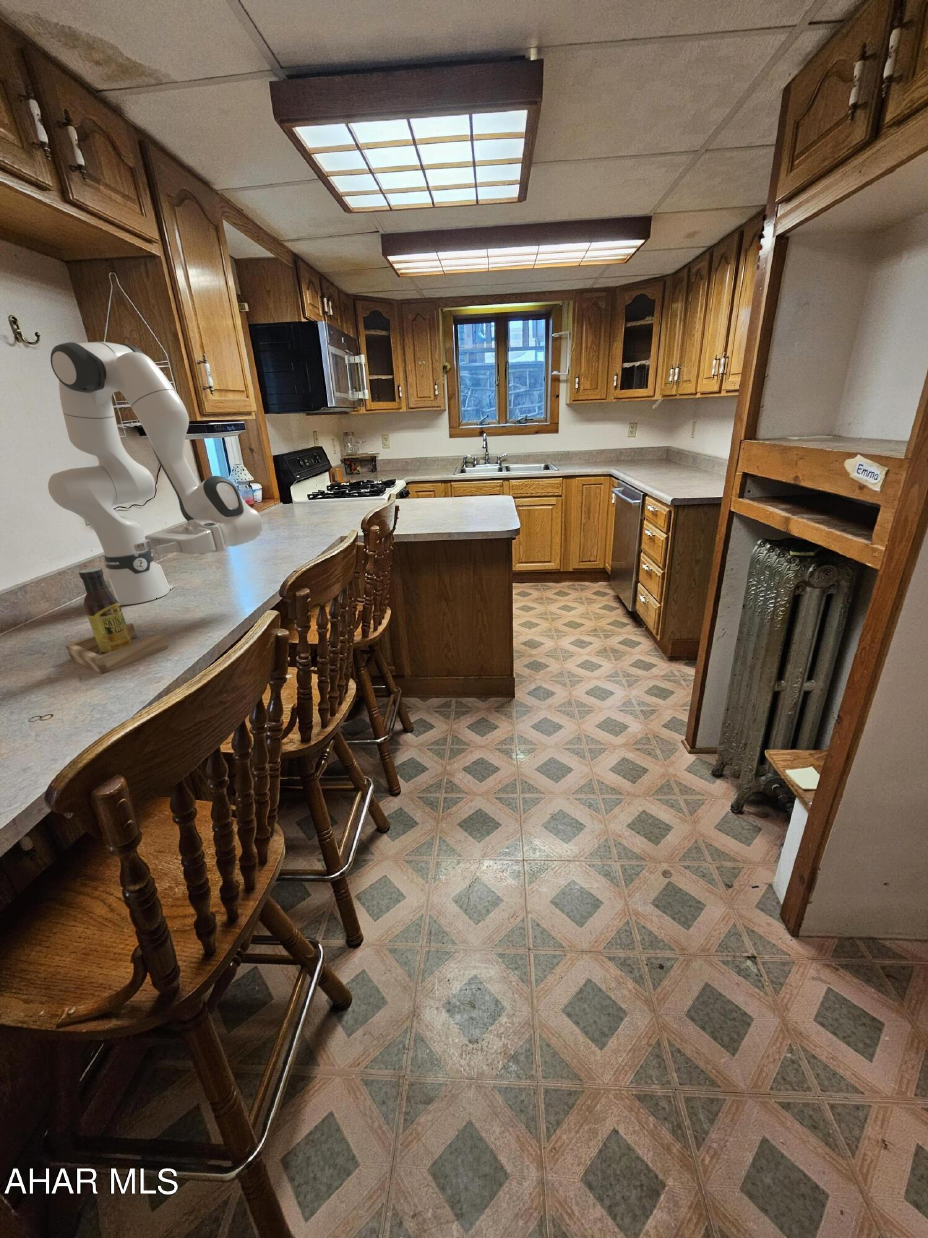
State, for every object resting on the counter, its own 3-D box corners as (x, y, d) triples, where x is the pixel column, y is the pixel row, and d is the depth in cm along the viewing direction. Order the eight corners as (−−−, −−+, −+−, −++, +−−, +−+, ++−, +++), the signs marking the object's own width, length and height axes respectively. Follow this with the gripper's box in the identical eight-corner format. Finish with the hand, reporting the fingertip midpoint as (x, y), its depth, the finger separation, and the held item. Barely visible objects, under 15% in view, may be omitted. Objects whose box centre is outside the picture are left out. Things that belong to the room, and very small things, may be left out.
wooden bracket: (168, 647, 112) (163, 634, 111) (102, 673, 101) (96, 659, 100) (135, 636, 120) (130, 623, 119) (71, 659, 110) (65, 645, 108)
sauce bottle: (118, 660, 107) (86, 575, 99) (95, 659, 108) (61, 575, 101) (142, 647, 113) (113, 565, 105) (120, 647, 114) (89, 566, 107)
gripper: (177, 522, 127) (119, 534, 116) (221, 525, 116) (163, 538, 105) (184, 545, 129) (128, 559, 118) (228, 550, 118) (172, 566, 108)
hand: (145, 549), depth 112 cm, fingers open, 8 cm apart
